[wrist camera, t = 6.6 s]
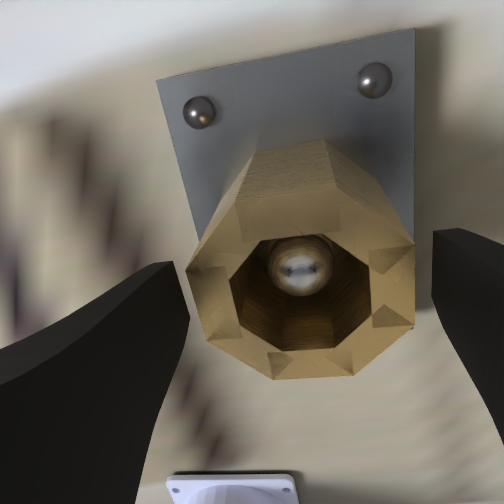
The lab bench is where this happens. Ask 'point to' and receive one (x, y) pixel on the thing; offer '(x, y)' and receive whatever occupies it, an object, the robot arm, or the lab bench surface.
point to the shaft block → (298, 131)
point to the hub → (329, 297)
